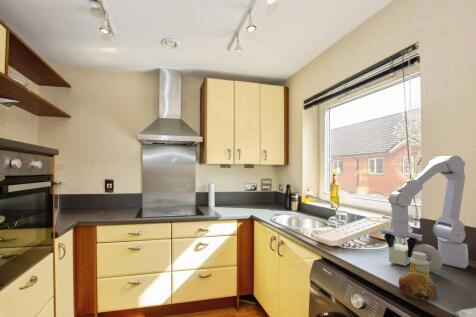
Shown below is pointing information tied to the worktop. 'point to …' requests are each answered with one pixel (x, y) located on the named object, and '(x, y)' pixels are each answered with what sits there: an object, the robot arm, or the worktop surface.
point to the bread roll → (417, 286)
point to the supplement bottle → (419, 263)
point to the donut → (433, 253)
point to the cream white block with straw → (403, 240)
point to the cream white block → (399, 254)
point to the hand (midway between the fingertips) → (400, 254)
